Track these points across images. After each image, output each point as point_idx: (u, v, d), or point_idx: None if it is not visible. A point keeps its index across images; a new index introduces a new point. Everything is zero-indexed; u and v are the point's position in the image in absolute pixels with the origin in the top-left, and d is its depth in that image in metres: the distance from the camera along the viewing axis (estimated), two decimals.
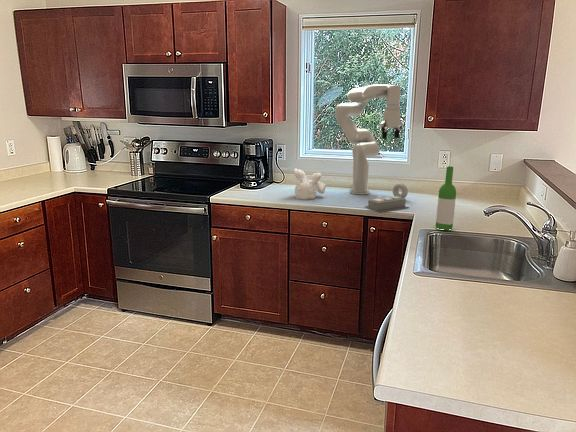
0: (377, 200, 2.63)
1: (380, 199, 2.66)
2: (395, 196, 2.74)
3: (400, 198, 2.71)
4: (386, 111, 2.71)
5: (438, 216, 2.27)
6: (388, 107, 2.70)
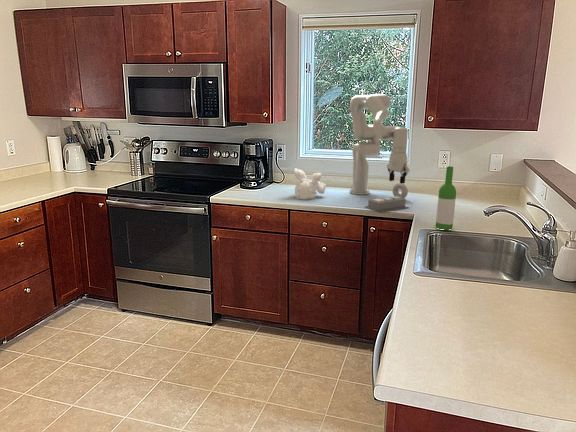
0: (377, 200, 2.63)
1: (380, 199, 2.66)
2: (395, 196, 2.74)
3: (400, 198, 2.71)
4: (404, 154, 2.62)
5: (438, 216, 2.27)
6: (404, 150, 2.62)
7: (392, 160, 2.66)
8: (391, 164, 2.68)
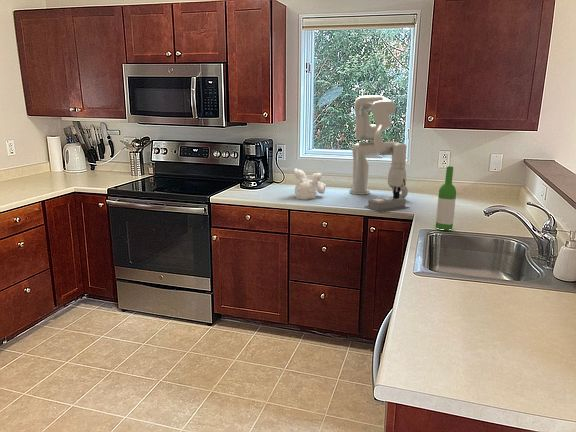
0: (377, 200, 2.63)
1: (380, 199, 2.66)
2: None
3: None
4: (403, 170, 2.64)
5: (438, 216, 2.27)
6: (403, 166, 2.64)
7: (391, 176, 2.68)
8: (390, 179, 2.70)
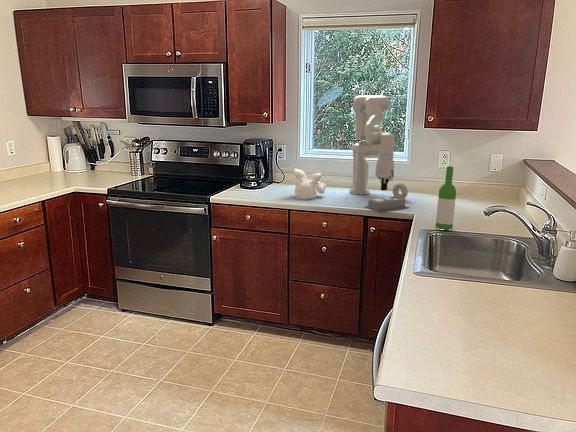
0: (377, 200, 2.63)
1: (380, 199, 2.66)
2: (395, 198, 2.74)
3: None
4: (391, 161, 2.57)
5: (438, 216, 2.27)
6: (391, 157, 2.58)
7: (379, 167, 2.62)
8: (378, 171, 2.63)
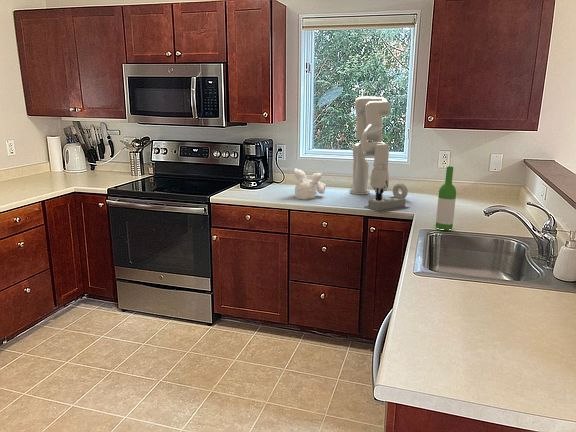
0: None
1: None
2: (395, 198, 2.74)
3: None
4: (386, 171, 2.57)
5: (438, 216, 2.27)
6: (386, 167, 2.58)
7: (374, 177, 2.62)
8: (373, 181, 2.63)
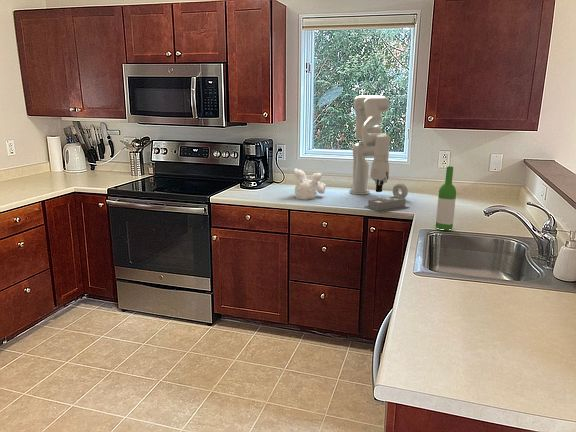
0: None
1: (380, 201, 2.66)
2: (395, 198, 2.74)
3: None
4: (386, 163, 2.56)
5: (438, 216, 2.27)
6: (386, 158, 2.57)
7: (374, 168, 2.61)
8: (373, 172, 2.62)
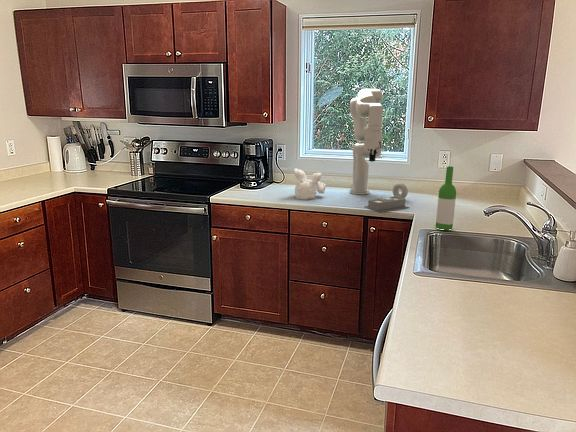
0: None
1: (380, 201, 2.66)
2: (395, 198, 2.74)
3: None
4: (379, 132, 2.60)
5: (438, 216, 2.27)
6: (379, 128, 2.61)
7: (368, 138, 2.65)
8: (366, 142, 2.66)
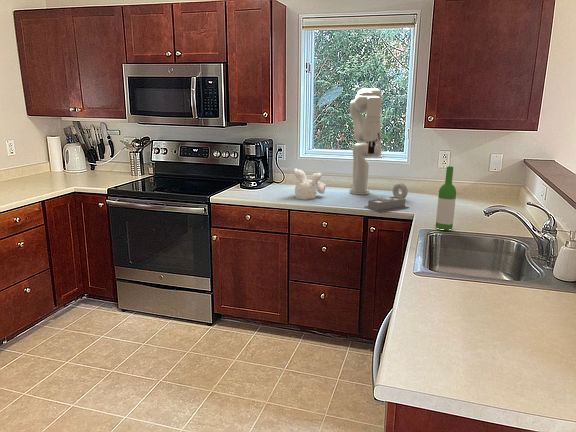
0: None
1: (380, 201, 2.66)
2: (395, 198, 2.74)
3: None
4: (378, 124, 2.61)
5: (438, 216, 2.27)
6: (378, 120, 2.62)
7: (366, 130, 2.66)
8: (365, 134, 2.67)
